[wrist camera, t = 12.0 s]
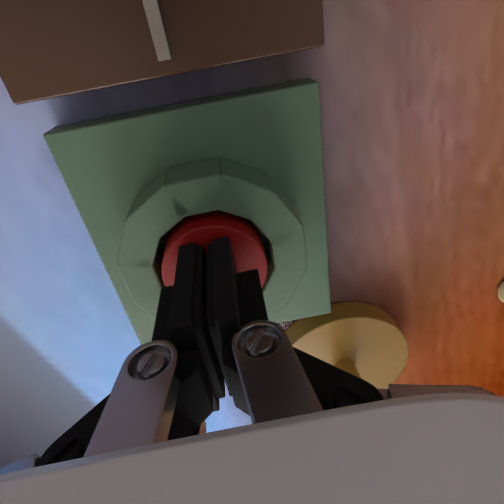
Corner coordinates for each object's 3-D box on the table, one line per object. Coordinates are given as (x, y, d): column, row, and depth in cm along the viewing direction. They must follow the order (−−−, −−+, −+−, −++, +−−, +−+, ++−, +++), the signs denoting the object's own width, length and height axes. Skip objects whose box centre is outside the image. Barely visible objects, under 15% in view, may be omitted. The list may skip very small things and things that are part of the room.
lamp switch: (153, 213, 13) (146, 237, 11) (253, 194, 13) (259, 216, 11) (181, 292, 15) (177, 321, 13) (267, 275, 15) (274, 303, 13)
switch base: (55, 126, 12) (15, 150, 10) (310, 77, 12) (336, 88, 10) (146, 331, 18) (136, 382, 15) (324, 297, 18) (344, 341, 15)
